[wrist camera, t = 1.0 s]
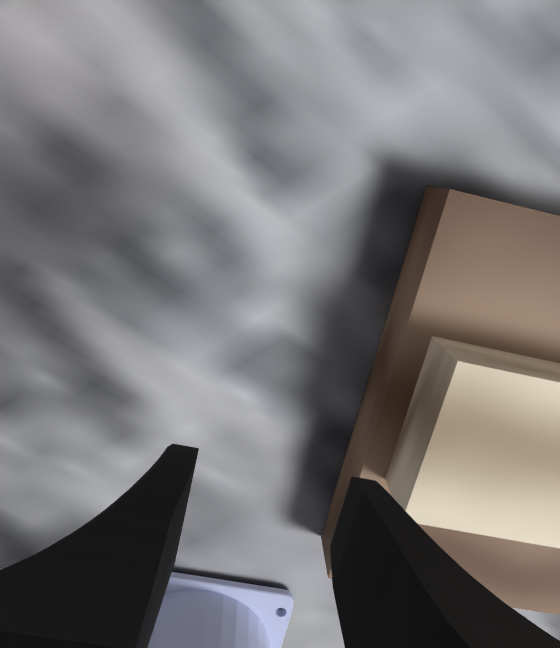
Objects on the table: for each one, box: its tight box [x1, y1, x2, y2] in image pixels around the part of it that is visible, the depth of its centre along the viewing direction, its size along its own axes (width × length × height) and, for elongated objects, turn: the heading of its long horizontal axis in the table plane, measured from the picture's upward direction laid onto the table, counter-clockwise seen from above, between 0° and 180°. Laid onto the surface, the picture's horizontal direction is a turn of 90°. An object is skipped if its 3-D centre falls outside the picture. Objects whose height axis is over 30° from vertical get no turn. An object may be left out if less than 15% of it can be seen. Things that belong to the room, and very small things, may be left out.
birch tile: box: [385, 336, 560, 548], centre depth 19 cm, size 6×9×2 cm, turn 77°
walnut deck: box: [321, 186, 560, 615], centre depth 21 cm, size 16×13×2 cm
